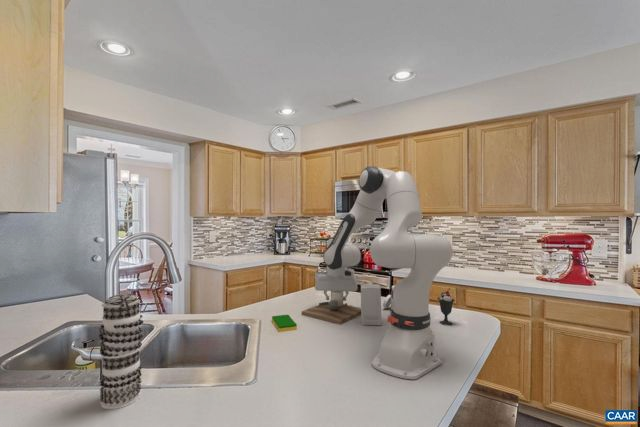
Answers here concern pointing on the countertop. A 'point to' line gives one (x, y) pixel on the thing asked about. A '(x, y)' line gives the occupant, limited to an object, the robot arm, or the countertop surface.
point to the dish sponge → (284, 323)
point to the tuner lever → (336, 300)
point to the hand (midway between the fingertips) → (336, 300)
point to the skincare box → (371, 304)
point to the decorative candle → (120, 351)
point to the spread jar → (389, 300)
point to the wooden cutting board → (333, 313)
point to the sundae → (446, 306)
